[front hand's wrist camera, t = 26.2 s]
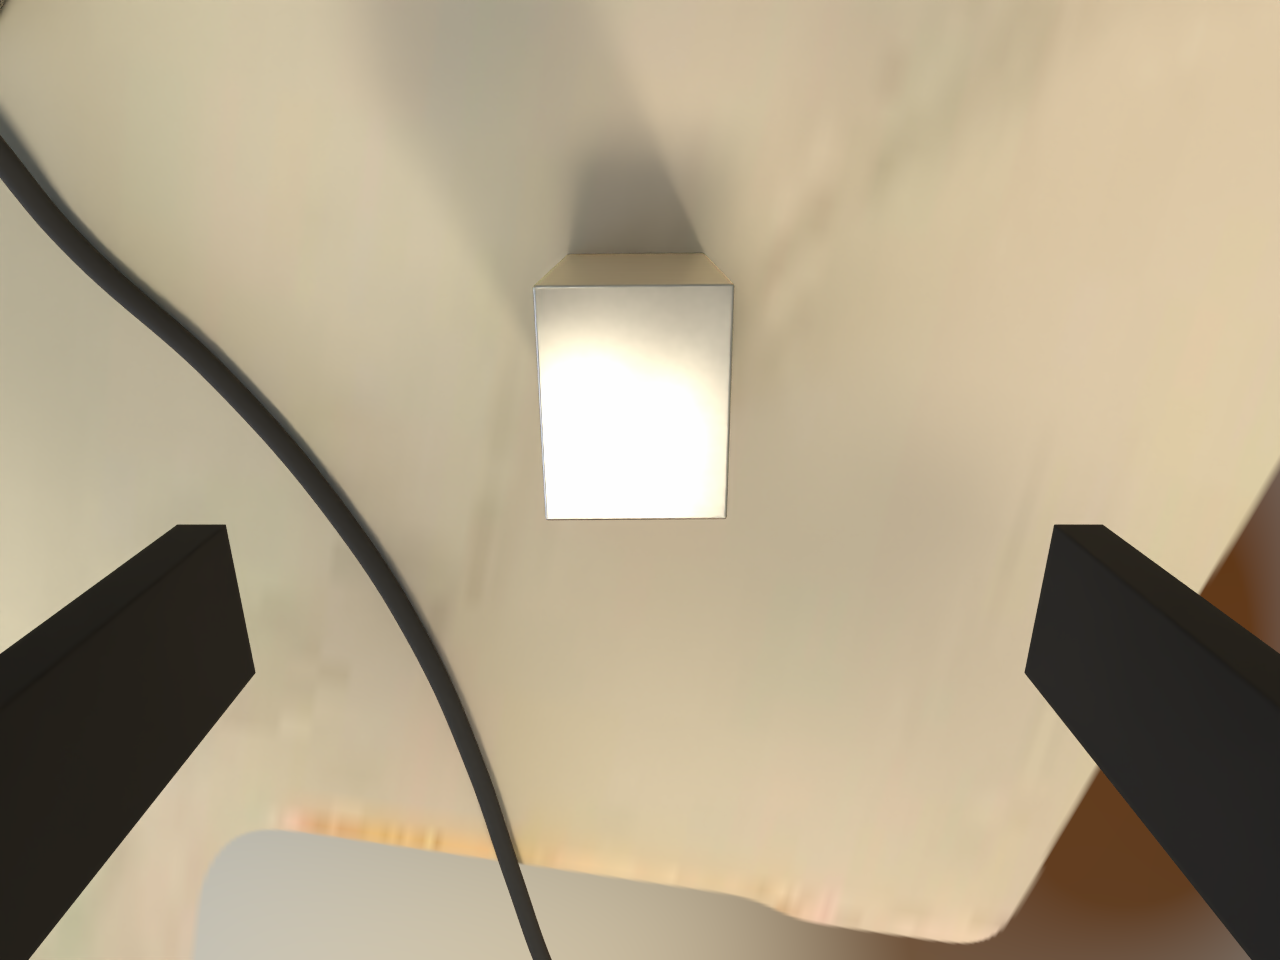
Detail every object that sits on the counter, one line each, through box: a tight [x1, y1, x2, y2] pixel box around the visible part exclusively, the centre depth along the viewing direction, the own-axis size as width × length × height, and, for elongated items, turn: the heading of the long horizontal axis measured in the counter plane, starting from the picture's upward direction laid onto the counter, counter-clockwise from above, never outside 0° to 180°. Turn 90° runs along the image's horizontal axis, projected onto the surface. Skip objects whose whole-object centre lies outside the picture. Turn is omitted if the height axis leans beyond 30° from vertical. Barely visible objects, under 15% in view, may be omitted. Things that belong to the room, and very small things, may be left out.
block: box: [533, 253, 734, 520], centre depth 29 cm, size 6×7×11 cm
